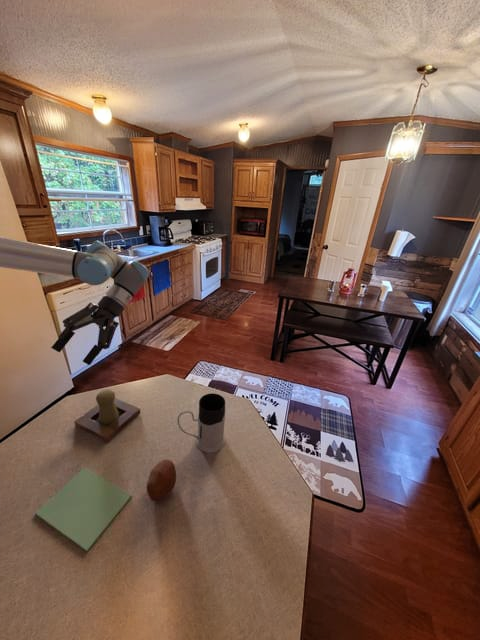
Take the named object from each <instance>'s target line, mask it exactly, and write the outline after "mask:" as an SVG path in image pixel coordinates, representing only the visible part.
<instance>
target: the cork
mask: <svg viewBox="0 0 480 640" xmlns="http://www.w3.org/2000/svg"><path fill="white" fill-rule="evenodd" d="M115 398H116V393H115V391H113V390H112V389H109V388H108V389H102V390H100V391H99V392H98V393H97V394H96V397H95V400H96V404H97V405H98V404H99V418H98V423H100V424H102V425H104V426H106V427H108V426H109V425H111V424H112V423H113V422H114V421H115V420H117V419H118V418H119V417H120V415H119V414H120V413H119V412H118V411H117V408H116V405H115V402H114V399H115Z"/></svg>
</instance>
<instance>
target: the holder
mask: <svg viewBox="0 0 480 640" xmlns="http://www.w3.org/2000/svg"><path fill="white" fill-rule="evenodd" d="M114 402H115V405H116V408H117V411H118V414H120V415H119V418H118V419H117V420H115V421H114V422H113V423H112V424H111V425H109V426H108V427H106V426H104V425H102V424H100V423H99V421H97V420H99V404H98V403H97V405H95V406H94V407H92V408H91V409H90V410H88V411H86V412H85V413H84V414H82V415H81V416H80V417H79V418H77V419H76V420H74V421H73V423H74V427H75V428H76V429H79V430H81V431H82V432H85V433H87V434H89V435H90V436H92V437H94V438H96V439H98V440H99V441H102V442H103V443H104V442H105V443H106V444H109V443H110V442H111V441H112V440H113V439H115V437H116V436H117V435H119V434H120V433H121V432H122V431H123V430H124V429H125V428H126V427H127V426H128V425H130V424H131V423H132V422H133V421H134V420H135V419H136V418H137V417H138V416H140V415H141V408H140V407H137V406H135V405H133V404H130V403H128V402H126V401H123V400H121V399H118V398H116V397H115V399H114Z"/></svg>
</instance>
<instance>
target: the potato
mask: <svg viewBox="0 0 480 640" xmlns="http://www.w3.org/2000/svg"><path fill="white" fill-rule="evenodd" d="M176 482H177V470H176V466H175V464H174V462H173V460H170V459H168V458H167V459H162V460H160V461H159V462H158V463H157V464H156V465H155V466H154V467H153V468H152V469H151V470H150V472H149V475H148V480H147V482H146V491H147V495H148V498H149V499H150V500H151V501H152V502H154V503H158V502H159V503H160V502H161V501H163V500H165V499H166V498H167V497H168V496H169V495H170V494H171V493H172V491H173V489H174V487H175V485H176Z"/></svg>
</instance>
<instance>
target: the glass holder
mask: <svg viewBox="0 0 480 640" xmlns="http://www.w3.org/2000/svg"><path fill="white" fill-rule="evenodd" d="M186 413H189V414H191V419H192V422H197V434H196V433H195V434H194V433H193V432H189V431H187V430H185V429H184V428H183V427H182V426H181V424H180V417H181V416H182V415H183V414H186ZM176 419H177V420H176V421H177V425H178V427H179V429H180V431H181V432H182V433H184V434H186V435H188V436H191V437H193V438H195V443H196V446H197V448H198V449H199V450H200V451H201V452H204V453H210V454H211V453H217V452H219V451H220V450H221V449H222V448H223V447H224V445H225V441H226V440H225V436H224V434H225V422H226V421H225V420H226V399H225V398H224V397H223V396H222V395H220V394H218V393H212V392H211V393H206V394H204V395H202V396H201V397H200V398H199V401H198V415H197V418H195V416H194V412H192V411H191V410H189V409H186V410H182V411H181V412H179V414H178V415H177V418H176ZM222 446H223V447H222Z"/></svg>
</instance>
